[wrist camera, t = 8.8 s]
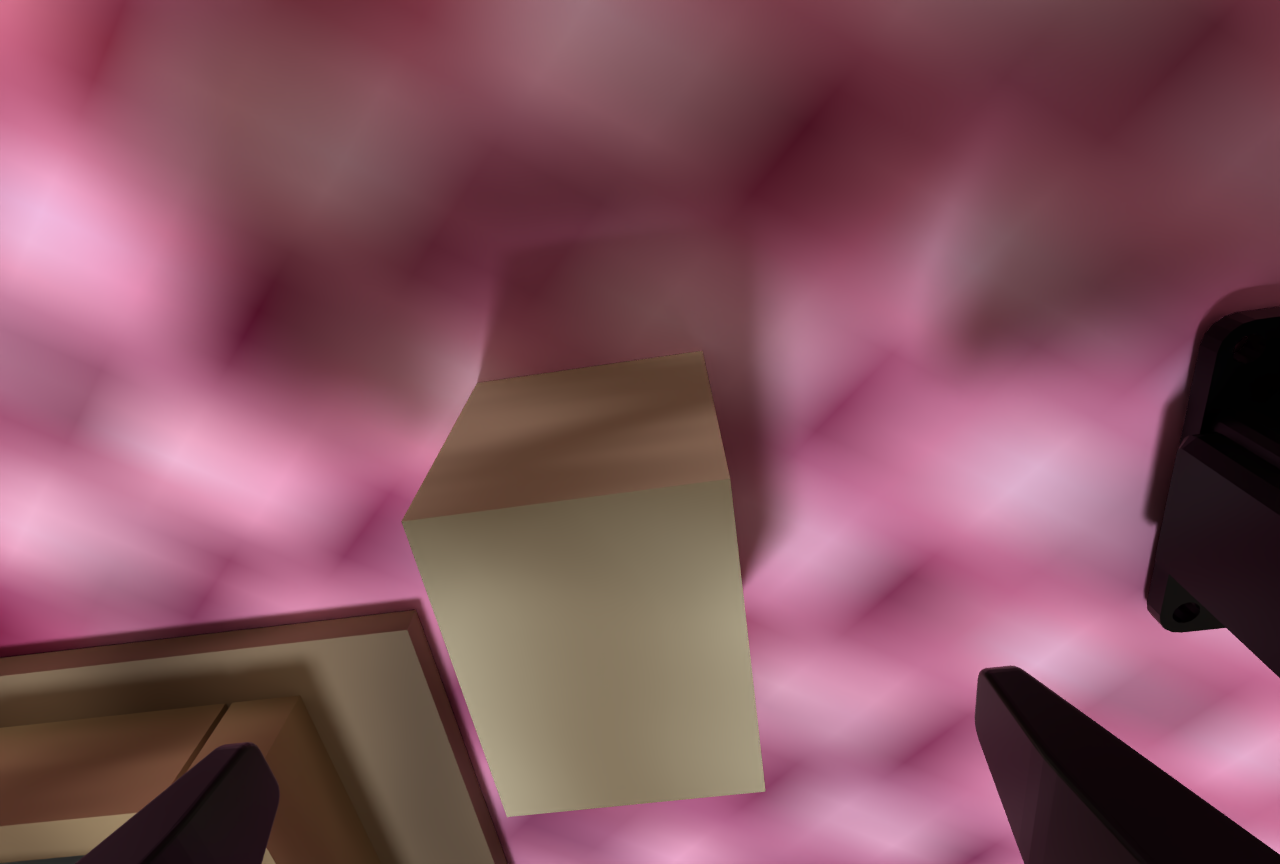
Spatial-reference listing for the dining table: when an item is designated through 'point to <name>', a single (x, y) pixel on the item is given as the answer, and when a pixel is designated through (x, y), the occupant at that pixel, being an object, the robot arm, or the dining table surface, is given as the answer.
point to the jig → (247, 712)
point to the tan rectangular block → (593, 587)
